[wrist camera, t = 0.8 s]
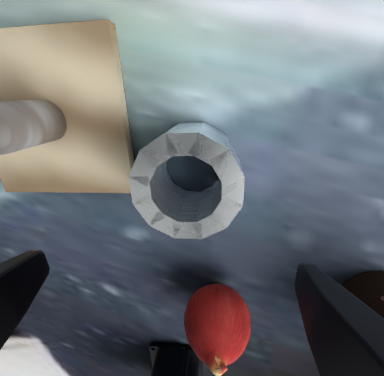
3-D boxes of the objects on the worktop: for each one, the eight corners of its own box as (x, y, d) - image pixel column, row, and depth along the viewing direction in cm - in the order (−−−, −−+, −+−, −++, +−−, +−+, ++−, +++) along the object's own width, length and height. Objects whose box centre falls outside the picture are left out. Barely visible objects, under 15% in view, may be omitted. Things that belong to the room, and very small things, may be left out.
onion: (234, 312, 24) (242, 407, 17) (183, 298, 24) (169, 387, 17) (253, 273, 22) (271, 364, 14) (197, 258, 22) (186, 341, 14)
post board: (138, 188, 19) (106, 225, 14) (15, 187, 21) (-58, 220, 15) (114, 23, 15) (53, -19, 9) (-42, 36, 16) (-176, 6, 11)
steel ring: (235, 205, 19) (240, 240, 14) (156, 204, 20) (137, 237, 15) (239, 121, 16) (247, 131, 12) (147, 123, 17) (121, 134, 13)
